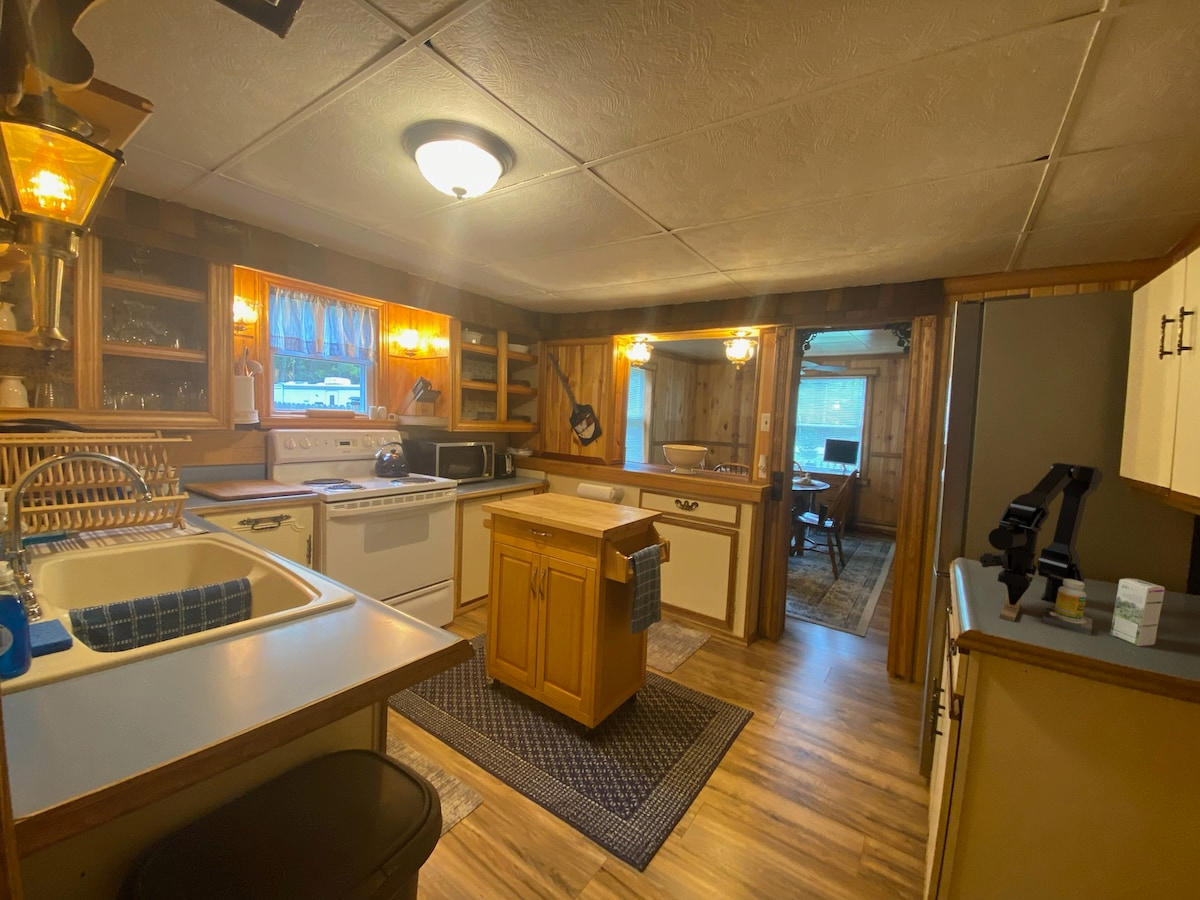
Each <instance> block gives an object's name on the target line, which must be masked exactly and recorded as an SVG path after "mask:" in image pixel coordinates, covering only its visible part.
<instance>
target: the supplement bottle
mask: <svg viewBox="0 0 1200 900" xmlns="http://www.w3.org/2000/svg"><path fill="white" fill-rule="evenodd" d="M1063 585H1064V586H1061V587H1059V589H1058V594H1057V600H1056V603H1055V605H1054V606H1055V608H1054V609H1055V612H1054V613H1055V614H1056V615H1057V616H1059V617H1061V618H1063V619H1067V620H1071V621H1081V620H1082V618H1083V617H1084V611H1085V606H1086V601H1087V593H1086V592H1085V590H1084V589H1085V585H1086V584H1085V583H1084V582H1080V581H1077V580H1073V579H1064V580H1063Z"/></svg>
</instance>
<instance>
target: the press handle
mask: <svg viewBox="0 0 1200 900" xmlns="http://www.w3.org/2000/svg"><path fill="white" fill-rule="evenodd" d="M1022 596H1023V595H1022ZM1022 596H1021V598H1020V599H1019V600H1018V602H1017V603H1016V604H1015V605H1010V604H1009V597H1008V589H1007V588H1006V594H1005V601H1004V606H1008V607H1012V608H1016V609H1019V608H1020V604H1021V605H1022V598H1023V597H1022ZM1020 609H1021V608H1020Z"/></svg>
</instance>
